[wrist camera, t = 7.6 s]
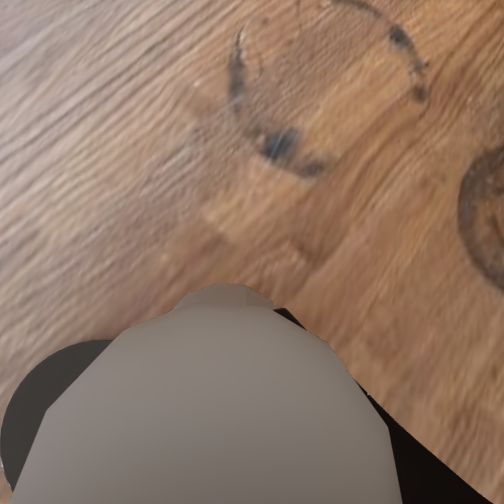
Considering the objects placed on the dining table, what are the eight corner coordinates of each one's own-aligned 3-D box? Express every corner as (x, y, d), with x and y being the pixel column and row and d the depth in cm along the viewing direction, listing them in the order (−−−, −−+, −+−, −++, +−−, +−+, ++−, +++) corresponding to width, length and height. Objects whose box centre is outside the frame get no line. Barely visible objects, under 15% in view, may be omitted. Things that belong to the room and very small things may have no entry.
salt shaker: (142, 367, 15) (-344, 741, 2) (205, 265, 16) (108, 125, 3) (247, 429, 15) (356, 1184, 2) (303, 323, 16) (607, 412, 3)
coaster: (219, 430, 20) (219, 434, 20) (81, 567, 19) (77, 574, 18) (110, 304, 21) (107, 304, 21) (-33, 426, 19) (-40, 429, 19)
